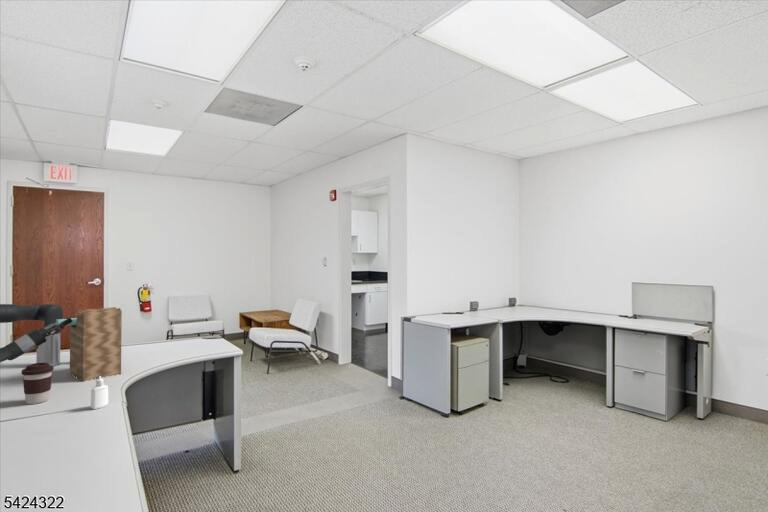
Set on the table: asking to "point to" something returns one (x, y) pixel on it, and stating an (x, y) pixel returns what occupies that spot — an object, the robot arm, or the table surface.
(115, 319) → the stand
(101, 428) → the table surface
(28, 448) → the table surface
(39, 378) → the coffee cup
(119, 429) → the table surface
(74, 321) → the block
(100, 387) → the eye dropper bottle
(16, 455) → the table surface
